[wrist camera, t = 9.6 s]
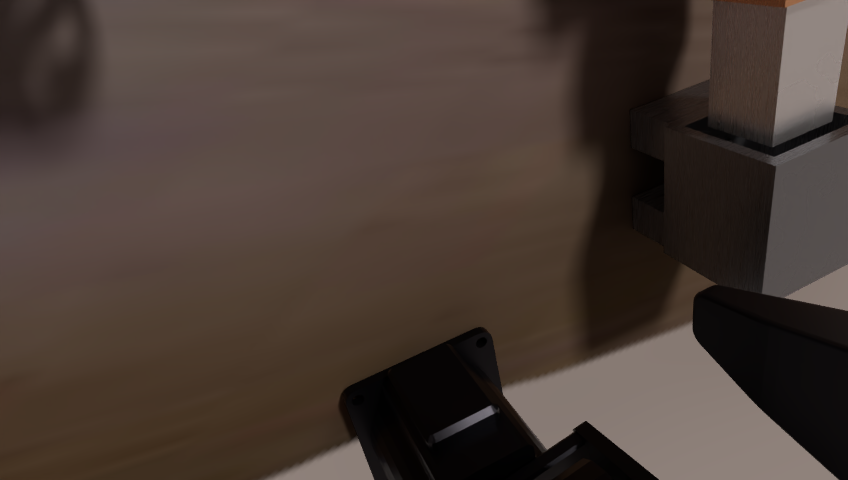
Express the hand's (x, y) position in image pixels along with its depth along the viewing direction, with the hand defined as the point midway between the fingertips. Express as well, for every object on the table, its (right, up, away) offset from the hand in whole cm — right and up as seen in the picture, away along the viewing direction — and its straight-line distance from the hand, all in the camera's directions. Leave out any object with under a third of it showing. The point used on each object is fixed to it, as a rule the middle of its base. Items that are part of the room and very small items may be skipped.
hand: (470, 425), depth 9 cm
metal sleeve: (+10, +6, +16) cm, 20 cm away
